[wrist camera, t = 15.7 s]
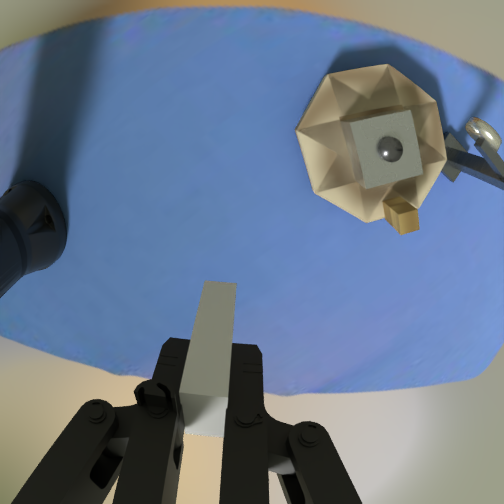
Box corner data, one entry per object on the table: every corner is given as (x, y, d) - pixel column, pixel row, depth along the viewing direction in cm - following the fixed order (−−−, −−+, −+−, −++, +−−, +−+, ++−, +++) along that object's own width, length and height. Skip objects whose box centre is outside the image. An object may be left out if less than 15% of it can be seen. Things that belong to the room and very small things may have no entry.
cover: (355, 180, 33) (367, 190, 28) (339, 121, 30) (351, 122, 26) (407, 167, 31) (425, 175, 27) (395, 109, 29) (413, 110, 24)
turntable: (323, 229, 38) (334, 254, 31) (280, 86, 30) (284, 80, 24) (443, 195, 35) (472, 213, 28) (417, 61, 27) (446, 55, 21)
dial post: (400, 133, 33) (468, 150, 20) (419, 105, 31) (491, 110, 18) (449, 180, 35) (517, 217, 22) (466, 154, 33) (537, 181, 20)
